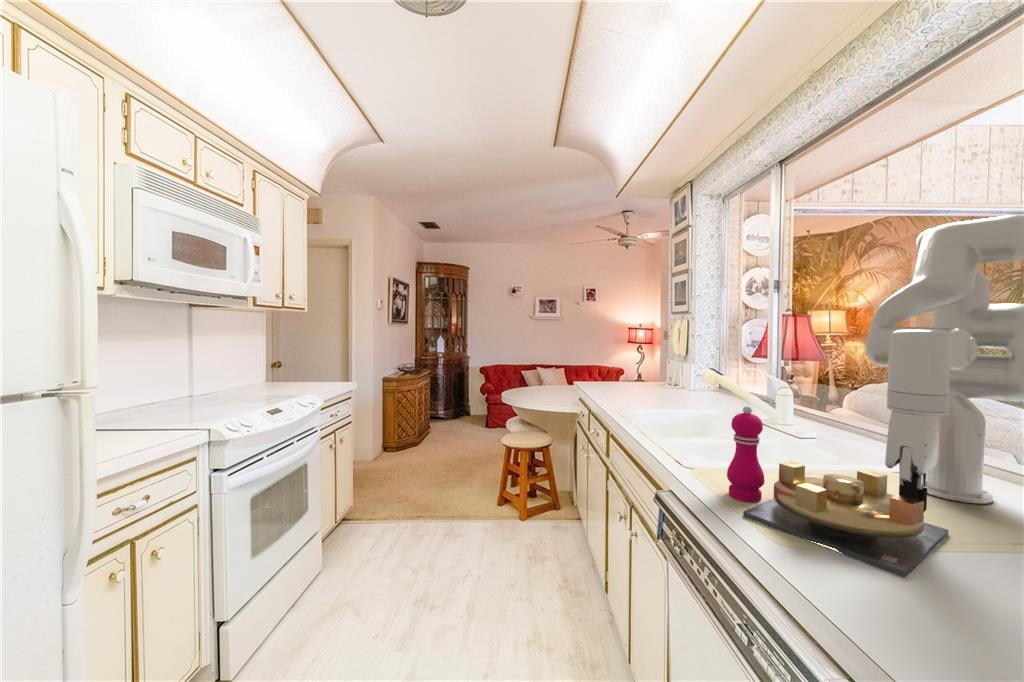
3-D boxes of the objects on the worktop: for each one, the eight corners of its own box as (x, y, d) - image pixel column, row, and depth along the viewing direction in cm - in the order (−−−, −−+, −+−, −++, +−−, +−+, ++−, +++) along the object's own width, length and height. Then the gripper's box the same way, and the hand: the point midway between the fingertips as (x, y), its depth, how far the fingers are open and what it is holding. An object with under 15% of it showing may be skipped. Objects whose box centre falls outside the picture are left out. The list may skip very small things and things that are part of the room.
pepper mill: (769, 505, 89) (772, 410, 88) (732, 501, 90) (734, 408, 89) (756, 491, 96) (759, 403, 95) (722, 489, 97) (724, 402, 96)
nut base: (799, 490, 96) (800, 477, 96) (948, 535, 76) (949, 518, 76) (743, 516, 83) (743, 501, 83) (905, 578, 63) (905, 558, 63)
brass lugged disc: (887, 495, 86) (889, 469, 86) (954, 549, 65) (956, 514, 65) (763, 480, 94) (764, 456, 94) (788, 523, 73) (789, 492, 73)
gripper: (900, 394, 79) (896, 491, 79) (873, 404, 70) (869, 512, 71) (958, 401, 72) (953, 506, 73) (936, 412, 64) (930, 530, 65)
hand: (912, 509), depth 72 cm, fingers closed
